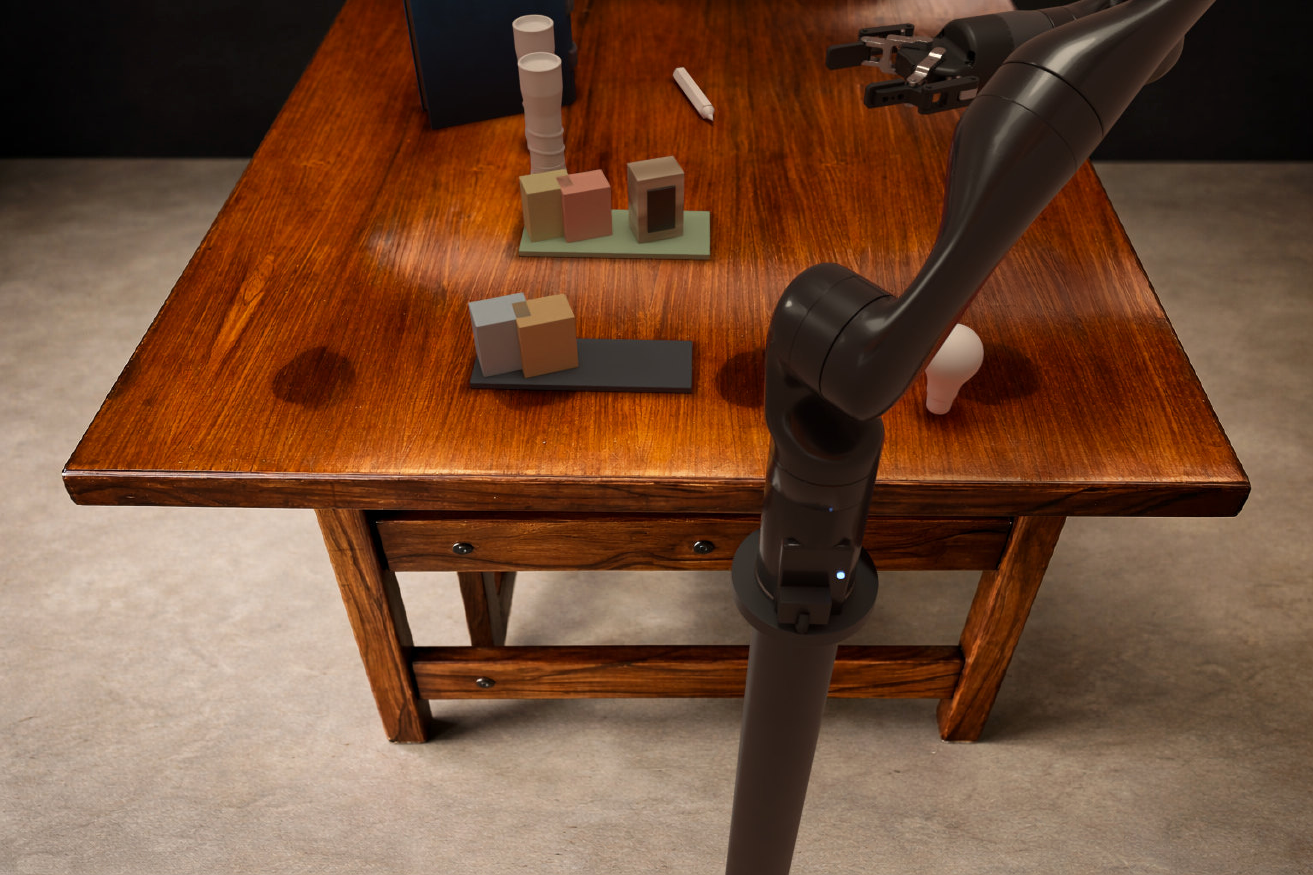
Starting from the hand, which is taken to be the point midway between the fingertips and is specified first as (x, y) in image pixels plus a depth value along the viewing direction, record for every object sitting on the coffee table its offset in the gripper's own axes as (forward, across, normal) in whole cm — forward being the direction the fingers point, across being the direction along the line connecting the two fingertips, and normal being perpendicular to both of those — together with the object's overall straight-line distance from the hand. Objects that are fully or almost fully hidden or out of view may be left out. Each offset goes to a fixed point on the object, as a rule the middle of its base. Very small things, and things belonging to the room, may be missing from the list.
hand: (846, 77), depth 98 cm
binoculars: (+21, -45, +30) cm, 58 cm away
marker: (-6, -56, +30) cm, 64 cm away
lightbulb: (-6, +18, +30) cm, 36 cm away
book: (+23, -66, +30) cm, 76 cm away
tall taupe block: (+12, -23, +29) cm, 39 cm away
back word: (+16, -25, +30) cm, 42 cm away
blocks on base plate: (+27, -1, +30) cm, 41 cm away
